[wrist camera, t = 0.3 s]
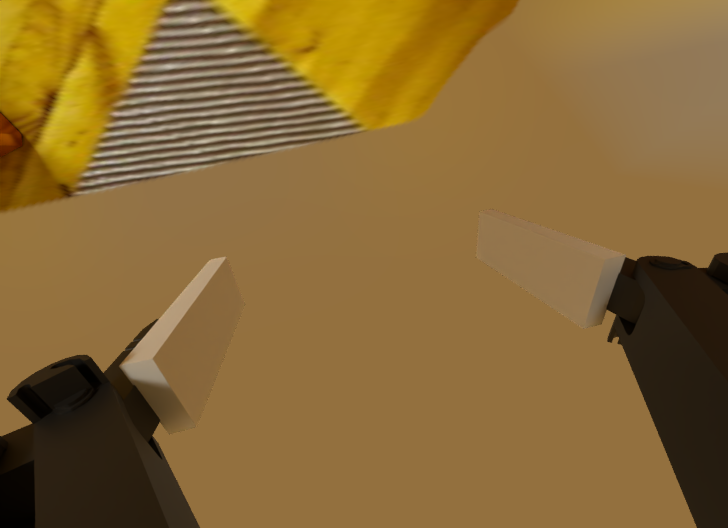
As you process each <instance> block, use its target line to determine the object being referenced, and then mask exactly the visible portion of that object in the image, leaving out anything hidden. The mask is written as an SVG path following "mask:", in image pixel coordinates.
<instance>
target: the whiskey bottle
mask: <svg viewBox="0 0 728 528" xmlns="http://www.w3.org/2000/svg"><path fill="white" fill-rule="evenodd" d="M21 146H22V134H21V133H20V132H19V131H18V130H17V129H16V128H15V127H14V126H13V125H12V124H11V123H10V122H9V121H8V120H7V119H6V118H5V117H4V116H3V115H2V114H1V113H0V157H2V156H4V155H5V154H7V153H9V152H11V151H13V150H15V149H17V148H19V147H21Z"/></svg>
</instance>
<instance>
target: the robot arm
mask: <svg viewBox="0 0 728 528" xmlns="http://www.w3.org/2000/svg"><path fill="white" fill-rule="evenodd" d="M476 258H478V259H479V260H481V261H482V262H484V263H485V264H487V265H488V266H490V267H491V268H493V269H494V270H496V271H497V272H499V273H500V274H502V275H503V276H505V277H506V278H508V279H509V280H511V281H512V282H514V283H515V284H517V285H518V286H520V287H521V288H523V289H524V290H526V291H527V292H529V293H530V294H532V295H533V296H535V297H536V298H538V299H539V300H541V301H542V302H544V303H545V304H547V305H548V306H550V307H551V308H553V309H554V310H556V311H557V312H559V313H560V314H562V315H563V316H565V317H566V318H568V319H569V320H571V321H572V322H574V323H575V324H577V325H578V326H580V327H581V328H583V329H584V328H588V327H592V326H596V325H600V324H602V321H603V319H604V316H605V313H606V310H609V311H611V312H613V313H615V314H616V317H615V320H614V322H613V325H612V328H611V330H610V333H609V336H608V340H607V341H608V342H612V340H613V338H615V337H619V341H618V344H621V345H622V346H623V349H624V351H625V353H626V356H627V358H628V361H629V363H630V366H631V368H632V371H633V373H634V375H635V378H636V380H637V382H638V385H639V388H640V390H641V392H642V395H643V397H644V400H645V402H646V405H647V407H648V409H649V412H650V414H651V417H652V419H653V422H654V424H655V427H656V429H657V431H658V434H659V436H660V438H661V441H662V443H663V446H664V448H665V451H666V453H667V456H668V458H669V461H670V463H671V465H672V468H673V470H674V473H675V475H676V478H677V480H678V482H679V485H680V487H681V490H682V492H683V495H684V497H685V500H686V502H687V504H688V507H689V509H690V512H691V514H692V517H693V519H694V521H695V524H696V526H697V528H728V253H719V254H716V255H714V258H713V259H712V261H711V263H710V265H709V267H708V268H697V267H695V266H694V265H692V264H690V263H689V262H687V261H682V260H678V259H675V258H672V257H665V256H664V257H663V256H662V257H661V256H645V257H640V258H639V259H637V261H634V260H632V259H629V258H626V255H625V254H622V253H619V252H616V251H613V250H610V249H607V248H604V247H602V246H599V245H596V244H592V243H590V242H587V241H584V240H581V239H578V238H575V237H573V236H570V235H567V234H564V233H561V232H558V231H555V230H552V229H549V228H546V227H543V226H541V225H537V224H534V223H532V222H529V221H526V220H523V219H520V218H517V217H514V216H511V215H508V214H506V213H503V212H500V211H497V210H494V209H489V210H483V211H479V223H478V237H477V249H476ZM244 306H245V302H244V300H243V297H242V294H241V292H240V289H239V287H238V284H237V282H236V279H235V276H234V274H233V271H232V269H231V266H230V263H229V261H228V258H227V257H222V258H216V259H211V260H209V261H208V263H207V264H206V265H205V266H204V267H203V268H202V270H201V271H200V272H199V273H198V274H197V276H196V277H195V278H194V279H193V280H192V281H191V282H190V284H189V285H188V286H187V287H186V288H185V290H184V291H183V292H182V293H181V294H180V295H179V297H178V298H177V299H176V300H175V301H174V302H173V304H172V305H171V306H170V307H169V308H168V310H167V311H166V312H165V313H164V314H163V315H162V316H161V318H160V319H156V320H155V321H154V322H152V323H151V324H149V325H148V326H147V327H145V328H144V329H143V330H142V331H141V332H140V333H139V334H138V335H137V336H136V337H135V339H134V340H133V342H131V343H130V344H129V345H128V346H127V347H126V349H125V351H123V352H122V353H121V354H120V355H119V356H118V357H117V359H116V360H115V361H114V362H113V363H112V364H111V365H110V367H109V368H108V369H107V370H106V371H105V372H104V373H103V372H102V371H101V370H100V369H99V367H98V366H97V365H96V363H95V362H94V361H93V359H92V358H91V357H89V356H88V355H76V356H73V357H69V358H65V359H63V360H60V361H58V362H55V363H53V364H51V365H49V366H47V367H45V368H43V369H41V370H39V371H37V372H35V373H34V374H32V375H31V376H29V377H28V378H26V379H25V380H24V381H22V382H21V383H20V384H19V385H18V386H16V387H15V388H14V389H13V390H12V391H11V392H10V394H9V396H8V398H7V400H8V401H9V402H11V403H12V404H13V405H14V406H15V407H16V408H17V409H18V410H19V411H20V412H21V413H22V414H23V415H24V416H25V417H27V418H28V419H29V420H30V421H31V422H32V423H33V424H30V425H28V426H26V427H23V428H21V429H18V430H16V431H13V432H11V433H9V434H6V435H4V436H0V528H200V527H199V525H198V523H197V521H196V519H195V517H194V515H193V513H192V511H191V509H190V506H189V504H188V502H187V501H186V499H185V496H184V495H183V492H182V490H181V488H180V486H179V484H178V482H177V480H176V478H175V476H174V474H173V472H172V470H171V468H170V466H169V464H168V462H167V460H166V458H165V456H164V454H163V452H162V450H161V448H160V446H159V444H158V442H157V441H156V440H155V438H154V437H153V436H152V435H153V433H154V431H155V429H156V428H157V426H158V424H159V422H160V423H161V424H162V425H163V427H164V428H165V429H166V431H167V432H168V433H169V434H172V433H176V432H180V431H184V430H188V429H192V428H195V427H197V426H198V423H199V420H200V418H201V415H202V413H203V410H204V408H205V405H206V402H207V400H208V398H209V395H210V392H211V390H212V387H213V385H214V382H215V380H216V377H217V375H218V372H219V369H220V367H221V364H222V362H223V360H224V357H225V354H226V352H227V349H228V347H229V344H230V342H231V339H232V337H233V334H234V332H235V329H236V326H237V324H238V321H239V319H240V316H241V314H242V311H243V309H244Z"/></svg>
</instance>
